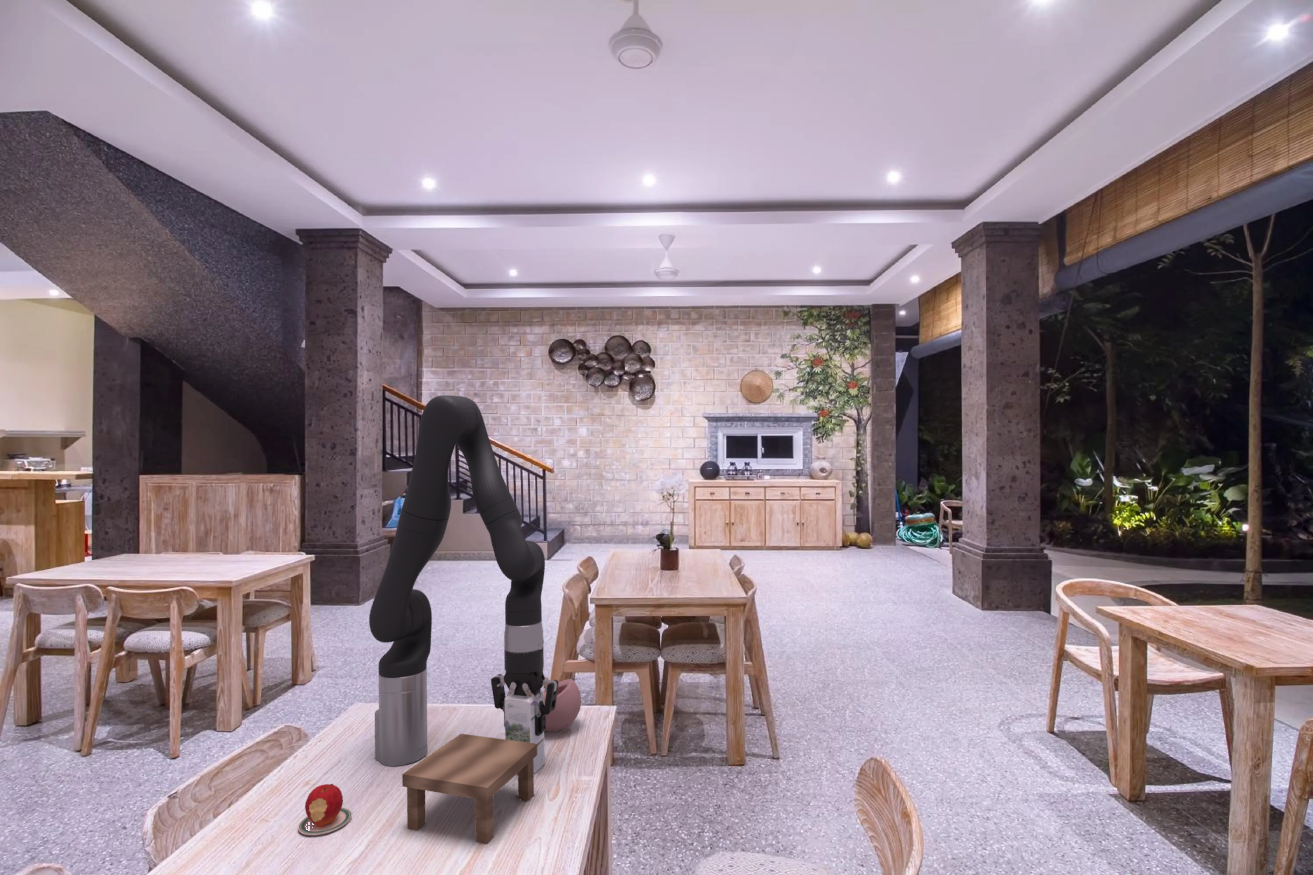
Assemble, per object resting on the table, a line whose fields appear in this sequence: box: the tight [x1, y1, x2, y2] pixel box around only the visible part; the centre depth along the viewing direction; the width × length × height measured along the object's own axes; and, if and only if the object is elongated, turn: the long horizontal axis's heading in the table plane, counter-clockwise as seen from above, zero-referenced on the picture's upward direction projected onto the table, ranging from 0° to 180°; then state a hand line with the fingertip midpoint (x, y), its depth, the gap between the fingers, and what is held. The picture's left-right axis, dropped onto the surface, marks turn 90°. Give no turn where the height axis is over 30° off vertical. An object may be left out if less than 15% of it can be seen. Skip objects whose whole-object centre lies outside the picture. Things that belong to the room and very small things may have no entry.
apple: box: [297, 783, 353, 836], centre depth 108 cm, size 8×8×6 cm
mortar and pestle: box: [542, 677, 582, 733], centre depth 143 cm, size 12×12×11 cm
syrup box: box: [504, 690, 546, 775], centre depth 125 cm, size 6×6×14 cm
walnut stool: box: [401, 733, 537, 845], centre depth 110 cm, size 16×16×9 cm
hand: (525, 731), depth 125 cm, fingers closed on syrup box, 5 cm apart
